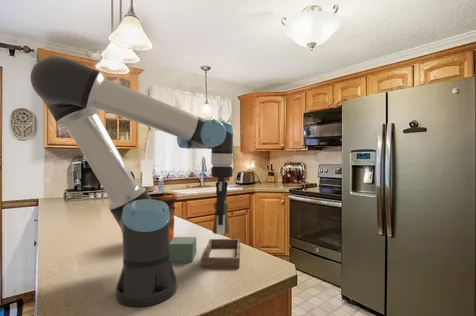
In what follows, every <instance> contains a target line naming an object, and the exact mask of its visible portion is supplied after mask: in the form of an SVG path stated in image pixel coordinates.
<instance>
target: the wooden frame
mask: <svg viewBox="0 0 476 316" xmlns="http://www.w3.org/2000/svg"><path fill="white" fill-rule="evenodd" d="M213 248H226V249H227V248H234V249H235V248H236V256H232V257H231V256H229V257H228V256H227V257H226V256H223V257H222V256H219V257H218V256H217V257H215V256H213V257H212V256H211V251H212V249H213ZM210 256H211V257H210ZM240 260H241V238H217V239H216V238H210V239H209V240H208V242H207V245H206V248H205V249H204V252H203V254H202V257H201V269H209V268H210V269H233V268H234V269H236V268H240V262H241V261H240Z"/></svg>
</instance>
